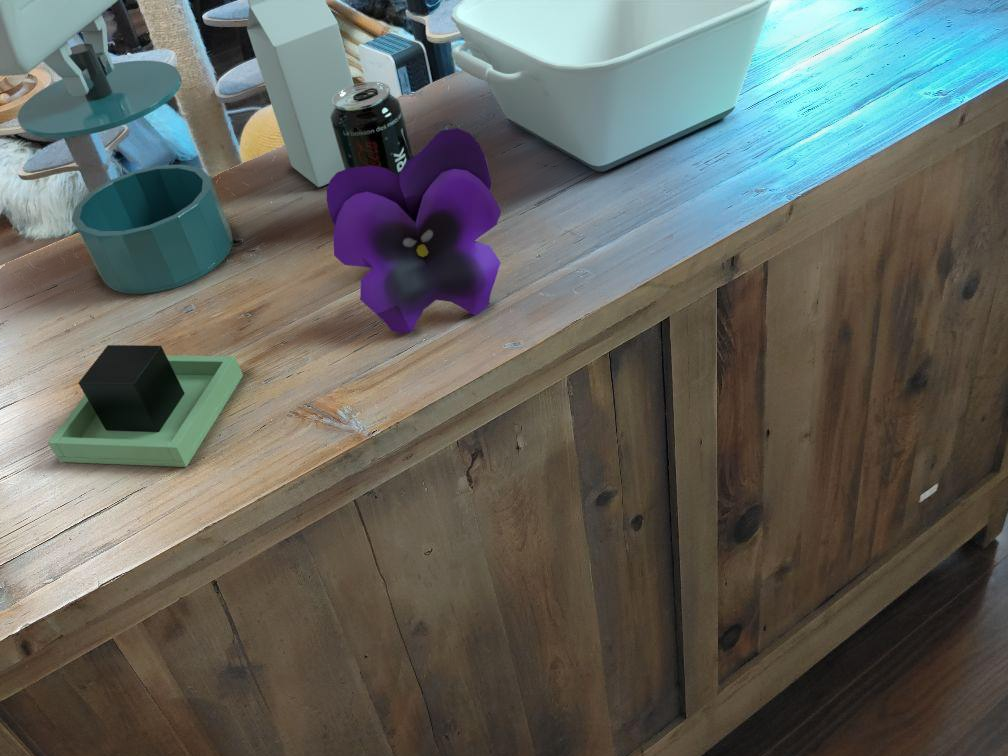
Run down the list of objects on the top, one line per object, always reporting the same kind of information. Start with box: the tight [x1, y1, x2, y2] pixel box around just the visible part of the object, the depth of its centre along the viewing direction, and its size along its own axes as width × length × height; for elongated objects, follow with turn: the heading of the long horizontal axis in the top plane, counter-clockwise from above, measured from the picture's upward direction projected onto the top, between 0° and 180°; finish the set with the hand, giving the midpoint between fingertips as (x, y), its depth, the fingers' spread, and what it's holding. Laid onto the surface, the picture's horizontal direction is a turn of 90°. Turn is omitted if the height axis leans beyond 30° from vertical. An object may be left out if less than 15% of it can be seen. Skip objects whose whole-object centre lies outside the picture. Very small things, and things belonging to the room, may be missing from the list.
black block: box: [78, 344, 185, 432], centre depth 82 cm, size 5×5×5 cm
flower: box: [326, 127, 502, 334], centre depth 90 cm, size 15×15×14 cm
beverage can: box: [331, 81, 414, 176], centre depth 99 cm, size 7×7×12 cm
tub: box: [450, 0, 773, 173], centre depth 106 cm, size 34×27×13 cm
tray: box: [47, 354, 244, 468], centre depth 84 cm, size 12×12×2 cm
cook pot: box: [71, 164, 234, 295], centre depth 101 cm, size 14×14×6 cm
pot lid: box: [17, 43, 182, 139], centre depth 90 cm, size 15×15×5 cm
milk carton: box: [246, 0, 355, 188], centre depth 106 cm, size 7×7×19 cm
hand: (93, 83), depth 90 cm, fingers closed on pot lid, 2 cm apart
